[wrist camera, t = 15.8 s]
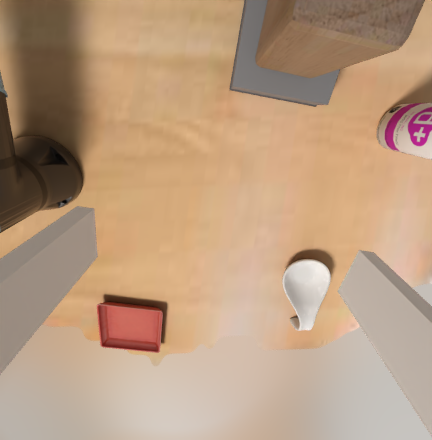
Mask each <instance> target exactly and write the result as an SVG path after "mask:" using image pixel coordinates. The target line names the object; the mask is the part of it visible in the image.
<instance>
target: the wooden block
mask: <svg viewBox="0 0 432 440" xmlns="http://www.w3.org/2000/svg"><path fill="white" fill-rule="evenodd" d="M424 1H425V0H268V1H267V5H266V10H265V15H264V19H263V24H262V29H261V33H260V38H259V43H258V47H257V52H256V56H255V61H256V64H257V65H258V66H259V67H261V68H266V69H270V70H275V71H279V72H284V73H288V74H293V75H297V76H302V77H306V78H314V77H317V76H320V75H323V74H326V73H329V72H332V71H335V70H338V69H341V68H344V67H347V66H350V65H353V64H356V63H359V62H362V61H365V60H368V59H371V58H374V57H377V56H381V55H384V54H387V53H390V52H393V51H396V50H398V49H399V48H400V47H401V46H402V45H403V44H404V43H405V41H406V40H407V38H408V37H409V35H410V33H411V31H412V28H413V26H414V24H415V22H416V19H417V17H418V15H419V13H420V10H421V8H422V6H423V4H424Z"/></svg>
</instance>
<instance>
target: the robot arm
mask: <svg viewBox="0 0 432 440" xmlns="http://www.w3.org/2000/svg"><path fill="white" fill-rule="evenodd" d="M6 97H8V95H7V92H6V91H5V90H4V85H3V81H2V76H1V72H0V233H1V232H3V231H5V230H6V229H8V228H10V227H11V226H13V225H15V224H16V223H18V222H20V221H22V220H23V219H25V218H27V217H28V216H30V215H32V214H34V213H35V212H37V211H41V210H49V209H56V208H60V207H63V206H65V205H67V204H69V203H70V202H72V201H73V200H75V199H76V198H77V196H78V195H79V193H80V191H81V188H82V175H81V171H80V168H79V166H78V164H77V162H76V160H75V159H74V157H73V156H72V155H71V154H70V153H69V152H68V151H67V150H66V149H65V148H64V147H63V146H62V145H60V144H59V143H57V142H55V141H53V140H51V139H49V138H46V137H42V136H26V137H20V138H16V139H14V140H13V136H12V131H11V125H10V119H9V113H8V108H7V102H6ZM97 257H98V256H97V242H96V227H95V213H94V209H93V208H86V207H80V206H77V207H75V208H74V209H73V210H71V211H70V212H68V213H67V214H65V215H64V216H62V217H61V218H59V219H58V220H56V221H55V222H54V223H52V224H51V225H49V226H48V227H46V228H45V229H43V230H42V231H40V232H39V233H37V234H36V235H35V236H33V237H32V238H30V239H29V240H27V241H26V242H24V243H23V244H21V245H20V246H18V247H17V248H15V249H14V250H13V251H11V252H10V253H8V254H7V255H5V256H4V257H2V258H1V259H0V374H1V373H2V372H3V371H4V369H5V368H6V367H7V366H8V365H9V363H10V362H11V361H12V360H13V358H14V357H15V356H16V355H17V354H18V352H19V351H20V350H21V349H22V347H23V346H24V345H25V344H26V343H27V341H28V340H29V339H30V338H31V337H32V335H33V334H34V333H35V332H36V331H37V329H38V328H39V327H40V326H41V325H42V323H43V322H44V321H45V320H46V318H47V317H48V316H49V315H50V314H51V312H52V311H53V310H54V309H55V308H56V306H57V305H58V304H59V303H60V302H61V300H62V299H63V298H64V297H65V295H66V294H67V293H68V292H69V291H70V289H71V288H72V287H73V286H74V285H75V283H76V282H77V281H78V280H79V279H80V277H81V276H82V275H83V274H84V272H85V271H86V270H87V269H88V268H89V266H90V265H91V264H92V263H93V262H94V260H95V259H96V258H97ZM338 293H339V294H340V296H341V297H342V299H343V300H344V302H345V304H346V305H347V307H348V308H349V310H350V311H351V313H352V314H353V316H354V317H355V319H356V320H357V322H358V324H359V325H360V327H361V328H362V330H363V331H364V333H365V334H366V336H367V337H368V339H369V341H370V342H371V344H372V345H373V347H374V348H375V350H376V351H377V353H378V354H379V356H380V357H381V359H382V361H383V362H384V364H385V365H386V367H387V368H388V370H389V371H390V373H391V374H392V376H393V377H394V379H395V380H396V382H397V384H398V385H399V387H400V388H401V390H402V391H403V393H404V395H405V396H406V398H407V399H408V401H409V402H410V404H411V405H412V407H413V408H414V410H415V411H416V413H417V414H418V416H419V418H420V419H421V421H422V422H423V424H424V425H425V427H426V428H427V430H428V431H429V433H430V435H431V436H432V306H431V305H430V304H428V303H427V302H426V301H425V300H424V299H423V298H422V297H421V296H420V295H419V294H417V292H416V291H415V290H413V289H412V288H411V287H410V286H409V285H408V284H407V283H406V282H405V281H404V280H403V279H402V278H401V277H399V276H398V275H397V274H396V273H395V272H394V271H393V270H392V269H391V268H390V267H389V266H388V265H387V264H385V263H384V262H383V261H382V260H381V259H380V258H379V257H378V256H377V255H376V254H375V253H374V252H368V251H361V250H359V252H358V254H357V255H356V257H355V259H354V261H353V263H352V265H351V267H350V269H349V271H348V272H347V274H346V276H345V278H344V280H343V282H342V284H341V286H340V288H339V290H338Z"/></svg>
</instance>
